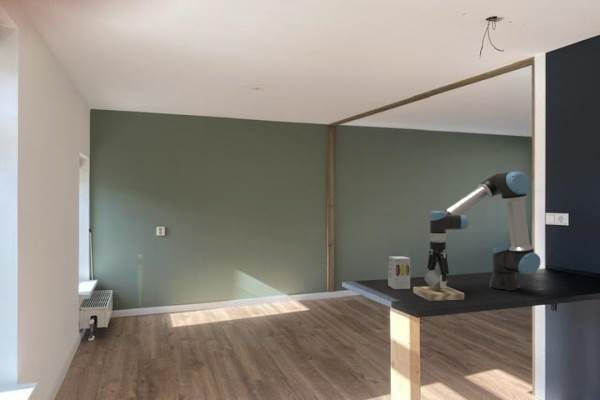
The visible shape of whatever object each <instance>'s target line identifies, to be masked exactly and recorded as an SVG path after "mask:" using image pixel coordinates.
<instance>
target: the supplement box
mask: <svg viewBox="0 0 600 400" xmlns="http://www.w3.org/2000/svg"><path fill="white" fill-rule="evenodd" d="M387 265H388V267H387V268H388V269H387V272H388V276H387V281H388V282H387V283H388V284H387V285H388V287H390V288H392V289H393V290H407V289H408V290H409V289H411V258H410V257H407V256H400V255H399V256H390V255H389V256H388V264H387Z"/></svg>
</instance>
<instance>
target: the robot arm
mask: <svg viewBox="0 0 600 400" xmlns="http://www.w3.org/2000/svg"><path fill="white" fill-rule="evenodd" d="M530 188H531V181H530V179H529V177H528V175H526V174H525V173H523V172H521V171H510V172H508V171H507V172H499V173H495V174H494V175H491V176H489V177H488V178H486V179H485V180H483V181H482V182H480V183H479V184H478V185H477V187H476V188H475V189H473V190H471V192H469V193H468V194H467V195H465V196H464V197H462V198H461V199H459V200H458V201H456V202H455V203H453V204H452V205H450V206H449V207H448V208H446V209H444V210H431V212H430V214H429V215H430V216H429V240H430V242H429V249H430V250H429V251H428V254H429V255H428V262H427V269H428V271H429V272H430V271H432V270H436V265H437V263H438V267H439V270H440V273H439V274H440V288H446V286H447V284H446V279H447V275H449V274H450V272H449V264H448V254H447V253H444V250H447V249H446V248H447V245H446V244H447V243H446V241H447V230H448V231H449V230H453V231H455V230H457V231H458V230H459V231H460V230H466V229H467V228H468V226H469V219H468V217H467V216H466V215H465V214H466V213H467V212H469V211H471V210H473V208H475V207H477V206H478V205H479V204H480V203H482V202H484V201H485V200H490V199H491V198H493V197H495V196H499V195H501V200H503V201H504V202H505V205H506V206H505V207H506V214H507V215H506V216H507V222H508V229H509V237H510V242H511V243H510V244H511V246H507V247H506V246H505V247H504V246H503V247H494V248H493V250H492V276H491V278H490V282H489V288H491V287H493V288H497V289H496V290H498V289H518V288H520V289H521V285H520V282H519V280H518V277H517V273H519V274H521V275H533V274H535V273H537V271H538V270H539V269H540V266H541V258H540V256H539V254H537V253H536V252H535V249H534V248H535V247H534V246H532V245H531V244H530V243H531V242H530V237H529V236H530V235H529V229H528V222H527V213H526V207H525V198H527V193H528V191H529V189H530ZM493 288H492V289H493Z"/></svg>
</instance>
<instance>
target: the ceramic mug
mask: <svg viewBox="0 0 600 400" xmlns="http://www.w3.org/2000/svg"><path fill="white" fill-rule="evenodd" d="M440 274H441V273H439V272H438V270H436V269H435V270H432V271H429V272H426V274H425V276H424V281H425V283H426V284H428V285H429V286H431V287H432V288H433V289H434V290H435V291H438V290H441V289H442V288H440ZM447 284H448V279H447V278H446V285H447Z"/></svg>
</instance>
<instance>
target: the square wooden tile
mask: <svg viewBox="0 0 600 400" xmlns="http://www.w3.org/2000/svg"><path fill="white" fill-rule="evenodd" d="M412 291H413V294H415V295H417V296H419V297H421V298H423V299H425V300H427V301H429V302H431V301H432V302H435V301H456V300H458V301H459V300H465V292H462V291H460V290H457V289H455V288H451V287H450V286H447V285H446V288H442V289H441V290H438V291H435V290H434V289H433V288H432V287H431V286H430V285H429V286H428V285H427V286H413V287H412Z"/></svg>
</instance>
